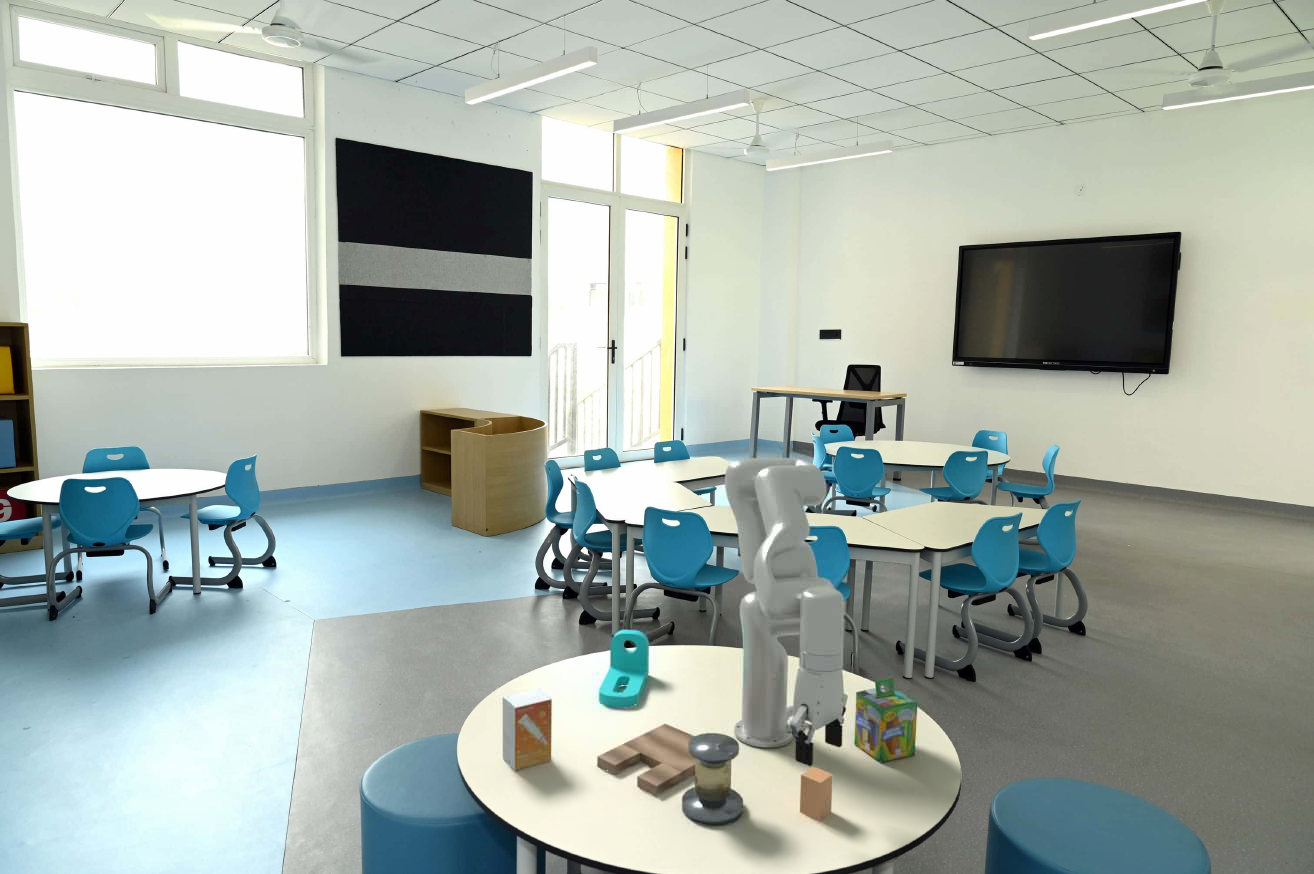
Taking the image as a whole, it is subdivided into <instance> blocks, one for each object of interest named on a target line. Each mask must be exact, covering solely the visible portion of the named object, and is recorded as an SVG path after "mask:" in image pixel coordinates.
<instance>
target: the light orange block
mask: <svg viewBox="0 0 1314 874" xmlns="http://www.w3.org/2000/svg"><path fill="white" fill-rule="evenodd" d="M799 792H800V797H799V813H800V814H803V815H806V816H808V817H810V818H811V819H814V820H816V821H818V822H820V821H821V820H822V819H824V818H825V817H826V816H827V815H829V814H830V813H831V812H832V802H833V801H832V798H833V794H832V793H833V774H832V773H830V772H827V771H825V770H822V769H820V768H817V767H815V766H812V767H810V768H809V769H807V770H806V771H805V772H803V773H802V774H801V775H800V791H799Z"/></svg>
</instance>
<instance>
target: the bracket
mask: <svg viewBox="0 0 1314 874" xmlns="http://www.w3.org/2000/svg"><path fill="white" fill-rule="evenodd" d="M626 641H631V642H633V643H634V644H635V649H633V650H629V649H627V648H626V647H625V646H624V642H626ZM649 641H650V640H649V638H648V636H647V635H646V634H645V633H643V632H642V631H640V630H636V629H621V630H618V631H617V632H616V633H615V634H614V635H613V637H612V639H611V641H610V644H609V645H610V646H609V647H610V648H609V649H610V650H609V654H610V655H609V657H610V658H609V669H608V671H606V672H607V673H606V675H605V677H604V678H603V680H602V683H601V685H600V687H599V689H598V702H600V703H599V704H600V705H602V704H603V705H602V706H604V705H605V707H607V706H609V708H618V707H628V708H632V707H631V706H633V707H635V706H636V705H635V704H637V703H638V704H639V702H640V700H641V697H642V694H643V692H642V691H644V689H643V688H645V686H644V685H646V684H645V682H646V683H647V681H646V679H647V680H648V678H649V675H648V674H649V670H650V665H649V664H650V663H649V662H650V660H649V659H650V642H649ZM647 677H648V678H647ZM621 685H627V687H626V686H625V690H624V691H622V692H618V690H619V688H620V687H619V686H621ZM618 687H619V688H618ZM617 689H618V690H617ZM616 691H617V692H616ZM641 693H642V694H641ZM640 696H641V697H640ZM639 699H640V700H639ZM638 701H639V702H638ZM638 704H637V705H638ZM634 705H635V706H634Z"/></svg>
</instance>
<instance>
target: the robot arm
mask: <svg viewBox="0 0 1314 874" xmlns="http://www.w3.org/2000/svg"><path fill="white" fill-rule="evenodd" d="M724 485H725V486H724V487H725V488H724V489H725V493H726V498H727V501H728V504H729V507H730V509H731V511H732V513H733V516H734V518H735V522H736V527H737V535H738V545H739V554H740V562H741V569H742V573H743V577H744V578H745V580H746V581H747V582H748V583H750V584H752V585H753V584H754V586H755V590H756V591H751V592H750V593H747V594H746V595H744V596H743V597H742V599H741V602H740V604H739V618H740V624H741V625H740V626H741V631H742V652H743V653H742V654H743V655H742V694H741V696H742V697H741V698H742V700H741V702H742V704H741V719H740V720H739V721H738V722H736V723H735V725H734V727H733V728H734V730H733V731H734V732H733V733H734V735H735V737H736V738H737V739H738V740H739V741H741V742H742V743H744V744H747V745H749V746H753V747H757V748H763V749H764V748H765V749H766V748H770V749H773V748H777V747H778V748H779V747H783V746H786V745H787V744H790V742H791V741H793V740H795V753H794V754H795V757H794V759H795V761H796V762H798V763H800V764H803V765H805V766H808V767H811V766H813V765H814V743H813V742H812V740H813V737H814V735H815V732H816V731H817V730H819V729H822V728H823V727H824V730H825V731H824V732H825V733H824V742H825V743H826V744H828V745H831V746H833V747H837V748H841V747H842V746H843V724H844V722H845V718H844V716H845V713H846V712H847V711H846V710H847V707H846V706H847V703H848V697H849V696H848V694H846V693H844V688H845V687H844V675H843V670H844V668H843V667H844V664H843V663H844V632H845V631H844V630H845V629H844V623H845V622H844V621H845V620H844V619H845V599H844V595H843V593H841V592H840V591H839V590H837V589H836V587H835V585H833V583H832V581H831V580H829V579H827V578H825V577H819V575H818V574H819V573H818V568H817V561H816V556H815V553H814V551H813V549H812V547H811V545H810V544H809V543H807V541H805V540H806V539H807V538H808V537H809V535H810V532H811V528H810V523H809V521H808V517H807V515H806V511H805V508H804V507H815V506H819V505H821V504H823V502H824V501H825V499H826V496H827V483H826V479H825V477H824V474H823V472H822V471H821V470H820V468H819V467H817V465H815V464H813V463H810V462H809V461H806V460H804V459H802V458H796V457H755V458H753V457H751V458H743V459H737V460H734V461H733V462H731V463H729V465H728V466H727V468H726V470H725V475H724ZM797 635H798V636H799V650H798V651H799V656H798V657H799V658H798V659H799V660H798V661H799V662H798V666H799V668H798V669H797V674H796V677H795V682H794V683H795V684H794V692H793V703H792V704H793V705H790V706H788V680H789V679H788V675H789V673H788V672H789V657H788V653H787V651H786V649H785V648H784V646H783V645H782V644H781V643H780V642H779V641H778V637H783V636H784V637H785V636H797ZM791 717H792V718H791ZM790 718H791V720H790V721H789V719H790ZM788 721H789V724H788ZM808 722H810V724H809V723H808ZM804 728H805V729H807V730H808V731H807V733H805V731H804Z"/></svg>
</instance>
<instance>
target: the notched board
mask: <svg viewBox="0 0 1314 874" xmlns="http://www.w3.org/2000/svg"><path fill="white" fill-rule="evenodd" d="M694 736H695V735H693V734H691V733H688V732H685V731H684V730H681V729H679V728H676V727H674V726H672V725H669V724H667V723H663V724H661V725H660V726H658V727H655V728H653V729H651V730H649V731H647V732H645V733H643V734H641V735H639V736H636V737H635V738H633V739H630V740H629V741H627V742H624V743H622V744H620V745H618V746H616V747H613V748H611V749H610V750H608V751H606V752H603V753H601V754H600V755H597V757H596V758H597V759H596V760H597V761H596V762H597V763H596V765H597V767H598V766H599V767H598V768H600V767H602V768H603V769H602V768H601V769H602V770H604V769H605V770H604V771H606V770H608V771H609V772H608V771H607V772H608V773H610V772H611V774H612V775H614V776H616V775H618V774H620V773H622V772H624V771H626V770H628V769H630V768H631V766H632V767H634V766H635V765H637V764H639V763H641V762H642V763H641V764H643V765H645V764H646V765H645V766H647V765H648V766H647V767H649V766H650V767H649V768H650V769H648V770H647V771H644V772H643V773H641V774H639V775H637V777H636V779H637V780H636V781H637V783H636V787H637V788H640V789H641V790H644V791H646V792H647V793H650V794H651V795H654V796H655V797H658V796H659V794H660V795H661V794H663V793H665V792H667V791H669V790H670V789H672V788H673V786H674V787H676V786H677V785H679V784H680V782H681V783H682V782H684V781H686V780H688V779H689V778H691V777H692V776H694V774H695V764H696V758H695V757H693V756H692V755H691V754H690V753H689V749H688V748H689V741H690V739H691V738H693V737H694ZM629 767H630V768H629ZM651 767H652V768H651ZM627 768H628V769H627ZM625 769H626V770H625ZM623 770H624V771H623ZM666 790H667V791H666Z"/></svg>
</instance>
